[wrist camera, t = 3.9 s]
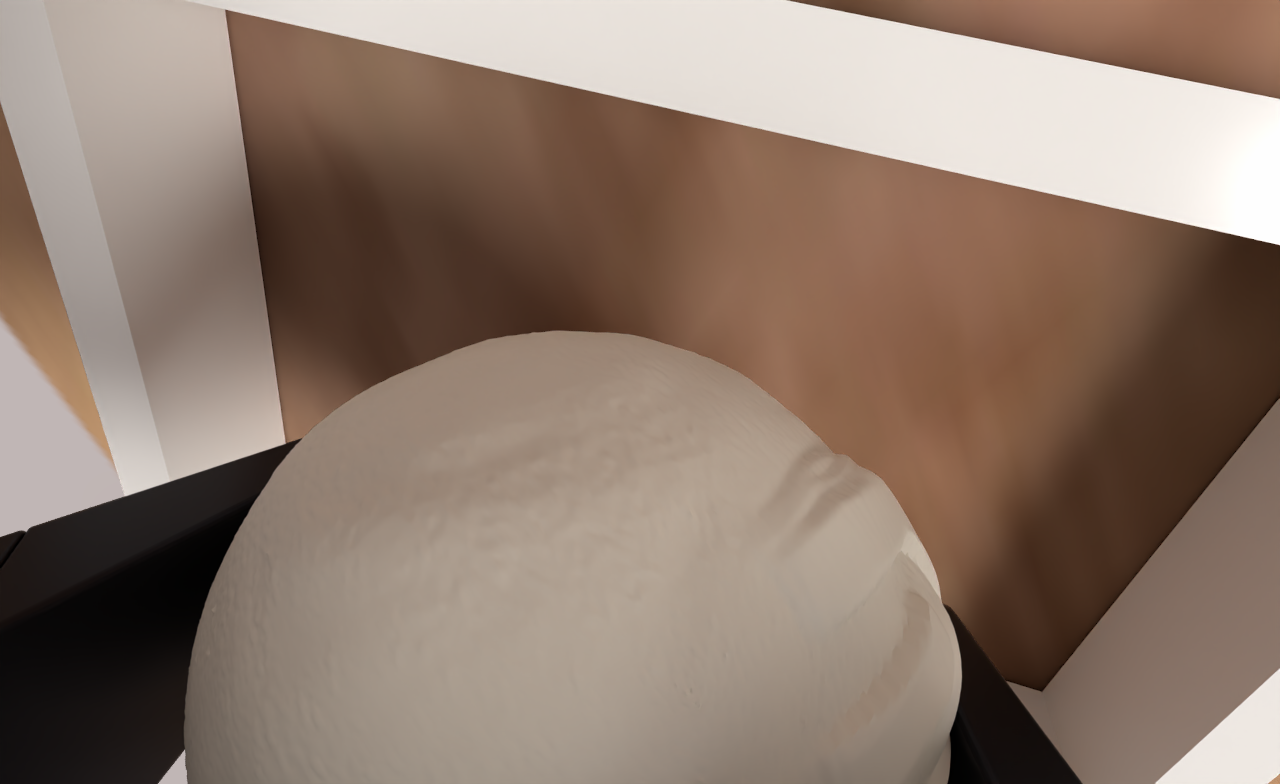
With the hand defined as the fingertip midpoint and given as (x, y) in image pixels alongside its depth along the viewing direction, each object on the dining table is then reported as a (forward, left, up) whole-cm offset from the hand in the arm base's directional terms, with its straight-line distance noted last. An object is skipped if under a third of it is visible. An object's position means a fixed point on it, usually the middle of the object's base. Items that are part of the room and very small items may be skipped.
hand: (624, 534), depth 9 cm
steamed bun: (0, 0, -2) cm, 2 cm away
